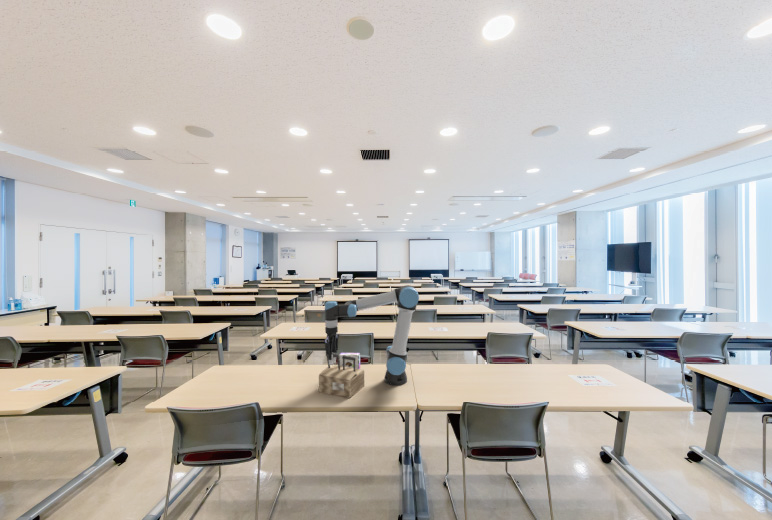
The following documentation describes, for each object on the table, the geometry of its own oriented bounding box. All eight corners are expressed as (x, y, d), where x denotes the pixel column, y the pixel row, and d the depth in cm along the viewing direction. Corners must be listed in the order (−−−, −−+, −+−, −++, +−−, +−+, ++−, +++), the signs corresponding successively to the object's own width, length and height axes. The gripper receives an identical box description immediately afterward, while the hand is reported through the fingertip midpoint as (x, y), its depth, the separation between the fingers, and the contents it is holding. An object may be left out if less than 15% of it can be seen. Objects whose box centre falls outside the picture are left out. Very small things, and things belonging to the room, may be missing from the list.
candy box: (360, 376, 219) (360, 352, 219) (359, 379, 213) (358, 355, 213) (341, 375, 220) (340, 352, 220) (339, 378, 215) (338, 354, 214)
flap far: (363, 370, 202) (363, 353, 201) (356, 376, 193) (356, 358, 193) (335, 366, 211) (334, 349, 210) (327, 371, 202) (326, 354, 202)
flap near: (357, 372, 194) (354, 356, 191) (349, 381, 186) (347, 364, 183) (327, 367, 203) (325, 352, 200) (319, 375, 195) (316, 359, 192)
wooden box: (364, 386, 202) (364, 370, 202) (349, 398, 186) (349, 381, 185) (335, 380, 211) (335, 366, 211) (318, 392, 195) (318, 375, 194)
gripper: (333, 323, 205) (334, 359, 206) (318, 328, 191) (320, 367, 192) (343, 324, 202) (344, 360, 203) (329, 329, 188) (330, 369, 189)
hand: (332, 363), depth 197 cm, fingers open, 2 cm apart
